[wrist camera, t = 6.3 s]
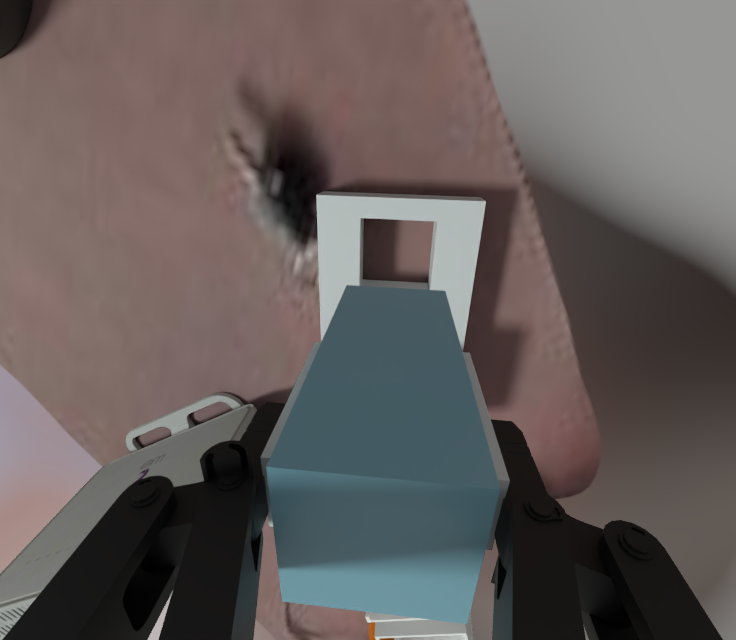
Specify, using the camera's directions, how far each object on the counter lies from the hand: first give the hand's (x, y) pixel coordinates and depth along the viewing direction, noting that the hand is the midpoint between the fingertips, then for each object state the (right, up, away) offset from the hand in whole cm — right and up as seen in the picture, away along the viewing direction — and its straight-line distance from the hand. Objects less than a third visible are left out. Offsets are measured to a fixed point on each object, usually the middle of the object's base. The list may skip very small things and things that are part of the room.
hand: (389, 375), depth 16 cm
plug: (0, +2, +4) cm, 4 cm away
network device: (-24, -13, +32) cm, 42 cm away
